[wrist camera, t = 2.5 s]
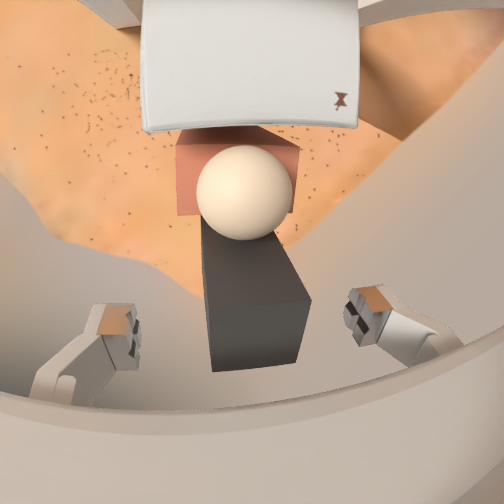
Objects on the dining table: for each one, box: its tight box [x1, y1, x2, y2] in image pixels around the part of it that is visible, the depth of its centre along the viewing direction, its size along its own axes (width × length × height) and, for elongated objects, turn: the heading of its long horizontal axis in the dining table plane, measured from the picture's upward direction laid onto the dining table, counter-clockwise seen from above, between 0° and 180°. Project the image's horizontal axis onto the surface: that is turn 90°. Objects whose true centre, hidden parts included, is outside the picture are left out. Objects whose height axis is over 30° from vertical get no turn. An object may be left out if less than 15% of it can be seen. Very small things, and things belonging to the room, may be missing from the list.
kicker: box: [176, 125, 312, 372], centre depth 14 cm, size 7×5×14 cm
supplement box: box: [140, 0, 360, 133], centre depth 12 cm, size 7×7×13 cm
